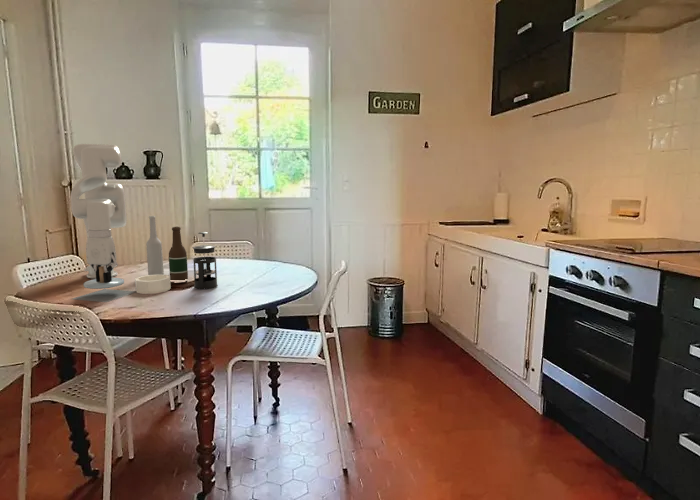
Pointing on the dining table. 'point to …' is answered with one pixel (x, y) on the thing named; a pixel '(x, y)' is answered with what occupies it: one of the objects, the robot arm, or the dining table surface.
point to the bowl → (152, 284)
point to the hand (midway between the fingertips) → (104, 281)
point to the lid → (100, 285)
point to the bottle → (154, 251)
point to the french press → (205, 281)
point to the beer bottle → (177, 257)
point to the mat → (104, 295)
